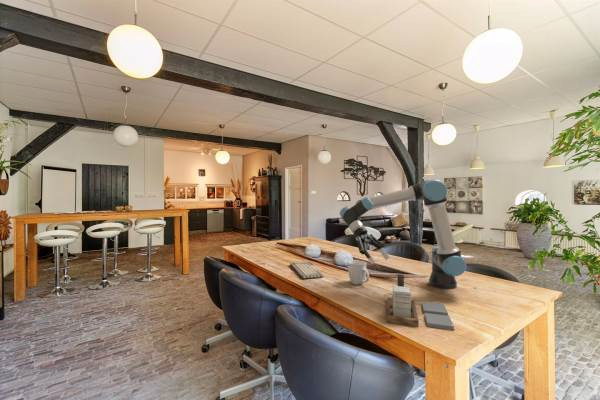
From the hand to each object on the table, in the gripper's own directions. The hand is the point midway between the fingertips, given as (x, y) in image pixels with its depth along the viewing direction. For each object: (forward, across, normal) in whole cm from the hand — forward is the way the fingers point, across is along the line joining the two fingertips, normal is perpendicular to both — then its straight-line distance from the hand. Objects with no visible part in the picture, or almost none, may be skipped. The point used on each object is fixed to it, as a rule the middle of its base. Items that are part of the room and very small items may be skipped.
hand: (381, 260), depth 145 cm
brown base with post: (+25, +7, -3) cm, 27 cm away
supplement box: (+27, +12, -1) cm, 30 cm away
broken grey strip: (+34, 0, +6) cm, 35 cm away
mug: (-1, -10, -30) cm, 31 cm away
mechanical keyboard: (-30, -4, -60) cm, 68 cm away
